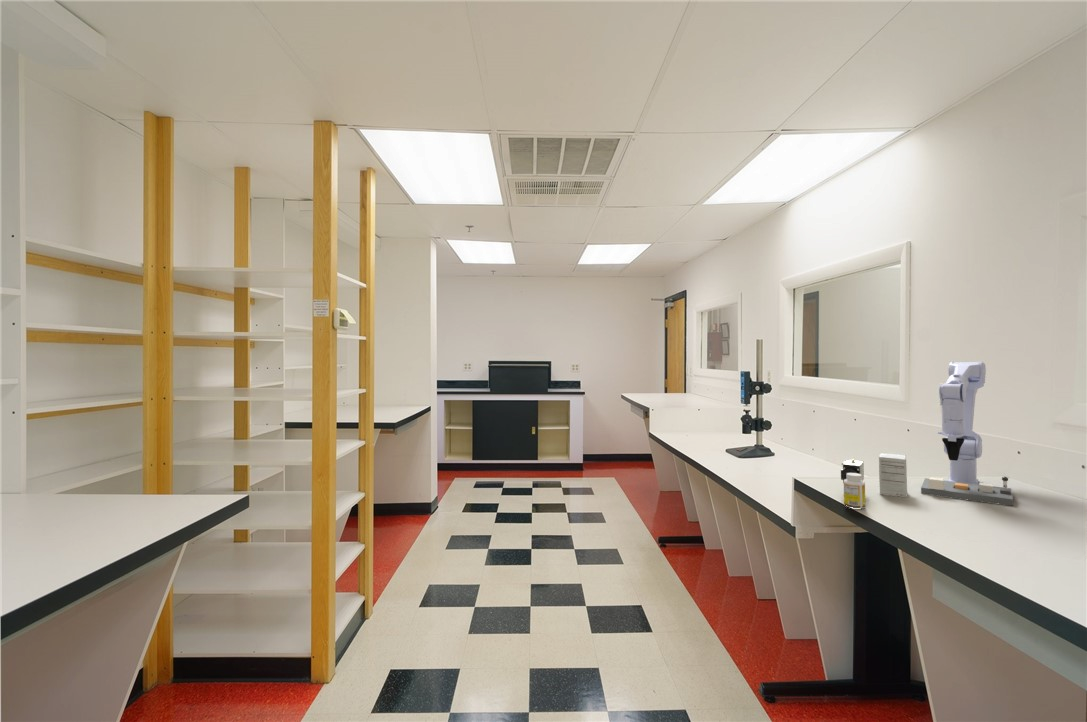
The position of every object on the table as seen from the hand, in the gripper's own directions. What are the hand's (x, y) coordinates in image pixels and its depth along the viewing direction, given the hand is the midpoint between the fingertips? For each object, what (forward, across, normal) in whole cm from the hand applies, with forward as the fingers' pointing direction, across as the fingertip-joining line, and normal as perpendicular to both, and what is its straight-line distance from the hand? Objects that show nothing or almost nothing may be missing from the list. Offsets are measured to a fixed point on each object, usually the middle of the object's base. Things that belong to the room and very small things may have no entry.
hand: (953, 460), depth 164 cm
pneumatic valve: (+11, +25, -25) cm, 37 cm away
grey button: (+9, +3, +8) cm, 12 cm away
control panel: (+10, +2, +3) cm, 11 cm away
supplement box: (+11, +15, -15) cm, 24 cm away
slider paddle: (+8, +9, -4) cm, 13 cm away
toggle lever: (+7, +3, +12) cm, 15 cm away
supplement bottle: (+11, +39, -22) cm, 46 cm away
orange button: (+10, +3, +2) cm, 10 cm away
